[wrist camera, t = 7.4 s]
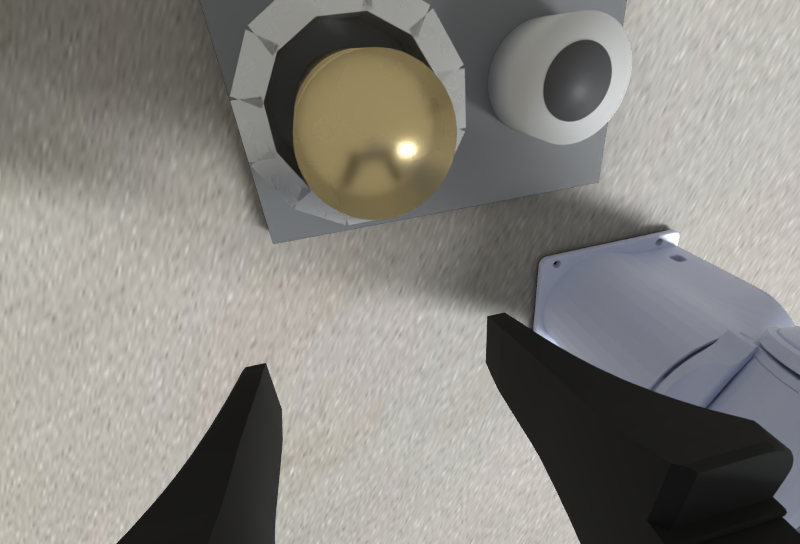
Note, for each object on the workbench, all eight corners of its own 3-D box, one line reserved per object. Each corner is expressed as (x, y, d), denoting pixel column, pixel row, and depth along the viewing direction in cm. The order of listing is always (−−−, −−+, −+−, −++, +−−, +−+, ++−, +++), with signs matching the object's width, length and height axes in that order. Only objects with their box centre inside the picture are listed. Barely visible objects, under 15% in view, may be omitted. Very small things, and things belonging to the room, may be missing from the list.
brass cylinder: (394, 42, 16) (455, 37, 10) (404, 153, 18) (458, 206, 12) (282, 55, 15) (272, 58, 9) (307, 169, 17) (312, 232, 11)
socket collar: (434, -24, 15) (462, -39, 12) (444, 182, 19) (467, 202, 16) (214, -2, 14) (195, -13, 11) (275, 212, 18) (271, 239, 15)
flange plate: (619, -84, 16) (711, -122, 13) (584, 176, 22) (641, 201, 18) (191, -48, 14) (154, -82, 10) (274, 234, 20) (269, 275, 16)
